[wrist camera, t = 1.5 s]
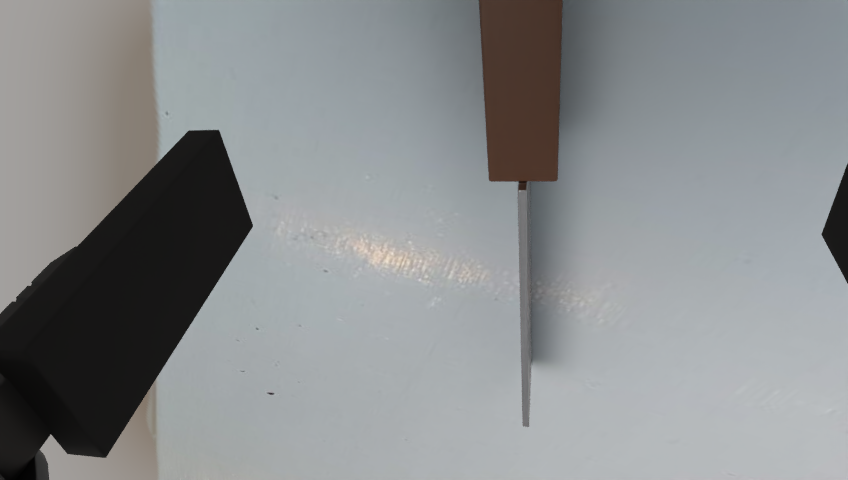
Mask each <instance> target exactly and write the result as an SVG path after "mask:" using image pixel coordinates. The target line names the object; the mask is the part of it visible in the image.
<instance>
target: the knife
mask: <svg viewBox="0 0 848 480" xmlns="http://www.w3.org/2000/svg"><path fill="white" fill-rule="evenodd" d="M562 5H563V0H479V10H480V28H481V46H482V64H483V82H484V100H485V118H486V136H487V154H488V172H489V180H490V181H519V184H518V220H519V268H520V317H521V365H522V414H523V426H526V427H529V412H530V388H531V181H557V179H558V148H559V112H560V77H561V41H562Z"/></svg>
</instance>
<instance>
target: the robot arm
mask: <svg viewBox="0 0 848 480" xmlns="http://www.w3.org/2000/svg"><path fill="white" fill-rule="evenodd" d="M252 227H253V224H252V222H251V219H250V216H249V213H248V210H247V208H246V205H245V202H244V199H243V196H242V193H241V191H240V188H239V185H238V182H237V179H236V177H235V174H234V171H233V168H232V165H231V163H230V160H229V157H228V154H227V151H226V149H225V146H224V143H223V140H222V137H221V135H220V132H219V130H196V131H188V132H187V133H186V134H185V135H184V136H183V137H182V138H181V139H180V140H179V141H178V142H177V143H176V144H175V145H174V147H173V148H172V149H171V150H170V151H169V152H168V153H167V154H166V155H165V156H164V157H163V158H162V159H161V160H160V161H159V162H158V163H157V164H156V165H155V166H154V167H153V168H152V169H151V170H150V171H149V173H148V174H147V175H146V176H145V177H144V178H143V179H142V180H141V181H140V182H139V183H138V184H137V185H136V186H135V187H134V188H133V189H132V190H131V191H130V192H129V193H128V194H127V196H125V198H124V199H123V200H122V201H121V202H120V203H119V204H118V205H117V206H116V207H115V208H114V209H113V210H112V211H111V212H110V213H109V214H108V215H107V216H106V217H105V218H104V219H103V220H102V221H101V223H100V224H99V225H98V226H97V227H96V228H95V229H94V230H93V231H92V232H91V233H90V234H89V235H88V236H87V237H86V238H85V239H84V240H83V241H82V242H81V243H80V244H79V245H78V246H77V247H74V248H72V249H71V250H70V251H68V252H66V253H65V254H63V255H62V256H60V257H59V258H57V259H56V260H54V261H53V262H51V263H50V264H49V265H48V266H47V267H46V268H45V269H44V270H43V271H42V272H41V273H40V274H39V275H38V276H37V277H36V278H35V279H34V280H33V281H32V285H31V286H27V287H26V288H25V289H24V290H23V291H22V292H21V293H20V294H19V295H18V296H17V297H16V298H17V300H16V302H11V303H10V304H9V305H8V306H7V307H6V308H5V309H4V311H2V313H1V314H0V480H49V473H48V463H47V461H46V458H45V456H44V454H43V453H42V452H41V451H40V450H39V449H40V448H41V447H42V445H43V444H44V442H45V441H46V440H47V438H48V437H49V436H50V434H51V435H52V436H53V437H54V438H55V439H56V441H57V442H58V443H59V444H60V445H61V447H62V448H63V449H64V450H65V451H66V453H67V454H74V455H84V456H93V457H102V458H105V457H106V456H107V455H108V453H109V451H110V450H111V449H112V447H113V445H114V444H115V442H116V441H117V439H118V438H119V436H120V434H121V433H122V431H123V430H124V428H125V427H126V425H127V423H128V422H129V420H130V419H131V417H132V416H133V414H134V412H135V411H136V409H137V408H138V406H139V405H140V403H141V401H142V400H143V398H144V397H145V395H146V394H147V392H148V390H149V389H150V387H151V386H152V384H153V383H154V381H155V379H156V378H157V376H158V375H159V373H160V372H161V370H162V368H163V367H164V365H165V364H166V362H167V361H168V359H169V357H170V356H171V354H172V353H173V351H174V350H175V348H176V346H177V345H178V343H179V342H180V340H181V339H182V337H183V335H184V334H185V332H186V331H187V329H188V328H189V326H190V324H191V323H192V321H193V320H194V318H195V317H196V315H197V313H198V312H199V310H200V309H201V307H202V306H203V304H204V302H205V301H206V299H207V298H208V296H209V295H210V293H211V291H212V290H213V288H214V287H215V285H216V284H217V282H218V280H219V279H220V277H221V276H222V274H223V273H224V271H225V269H226V268H227V266H228V265H229V263H230V262H231V260H232V258H233V257H234V255H235V254H236V252H237V251H238V249H239V247H240V246H241V244H242V243H243V241H244V240H245V238H246V236H247V235H248V233H249V232H250V230H251V229H252ZM822 236H823V238H824V240H825V242H826V244H827V246H828V248H829V249H830V251H831V253H832V255H833V257H834V259H835V261H836V262H837V264H838V266H839V268H840V270H841V272H842V274H843V275H844V277H845V279H846V281H847V283H848V164H847V167H846V169H845V172H844V175H843V177H842V180H841V183H840V186H839V188H838V191H837V194H836V197H835V199H834V202H833V205H832V207H831V210H830V213H829V216H828V218H827V221H826V224H825V227H824V229H823V232H822Z"/></svg>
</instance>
